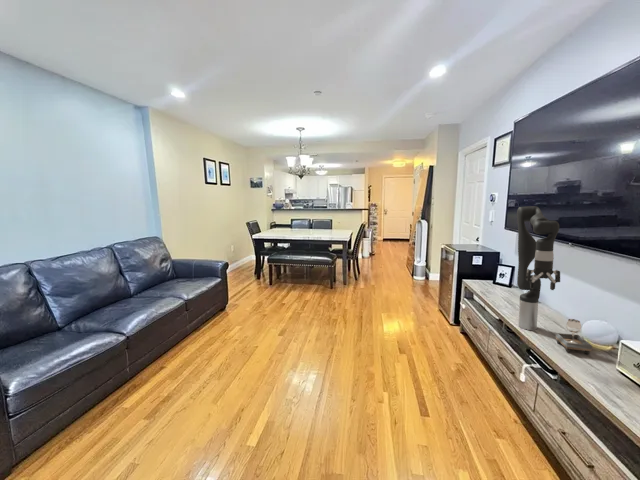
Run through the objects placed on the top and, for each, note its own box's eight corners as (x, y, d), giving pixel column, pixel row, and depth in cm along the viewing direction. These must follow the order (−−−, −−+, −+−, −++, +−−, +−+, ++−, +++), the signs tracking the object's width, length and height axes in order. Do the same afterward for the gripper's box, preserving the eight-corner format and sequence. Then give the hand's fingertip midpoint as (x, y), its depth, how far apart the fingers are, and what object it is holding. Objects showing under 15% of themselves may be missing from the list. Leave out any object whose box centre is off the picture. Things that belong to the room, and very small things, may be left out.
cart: (555, 342, 154) (555, 332, 153) (577, 344, 151) (578, 334, 150) (566, 353, 142) (567, 343, 142) (591, 355, 139) (591, 345, 139)
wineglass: (564, 342, 146) (566, 320, 145) (565, 338, 150) (567, 317, 149) (579, 346, 142) (581, 323, 141) (580, 342, 146) (581, 320, 145)
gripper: (556, 258, 145) (554, 288, 147) (524, 257, 150) (523, 286, 151) (564, 260, 138) (562, 292, 140) (530, 260, 142) (529, 290, 144)
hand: (542, 289), depth 146 cm, fingers open, 8 cm apart
